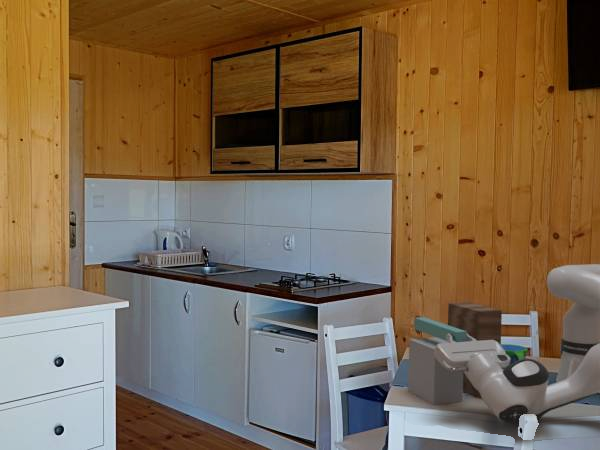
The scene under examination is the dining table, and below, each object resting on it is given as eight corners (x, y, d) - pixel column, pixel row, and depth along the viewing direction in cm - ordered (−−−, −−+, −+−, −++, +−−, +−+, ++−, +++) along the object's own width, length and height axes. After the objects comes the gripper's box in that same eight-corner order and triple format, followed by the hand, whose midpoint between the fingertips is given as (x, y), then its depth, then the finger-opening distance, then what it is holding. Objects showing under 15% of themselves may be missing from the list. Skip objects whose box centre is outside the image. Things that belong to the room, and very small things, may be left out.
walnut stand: (499, 395, 192) (501, 310, 191) (477, 398, 189) (479, 311, 188) (466, 381, 206) (469, 302, 206) (446, 383, 204) (448, 303, 203)
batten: (466, 343, 178) (466, 331, 178) (456, 344, 177) (456, 332, 177) (423, 328, 199) (423, 317, 199) (414, 328, 197) (414, 317, 197)
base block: (462, 400, 186) (464, 347, 185) (433, 404, 182) (435, 349, 181) (435, 387, 199) (437, 337, 198) (408, 390, 195) (409, 339, 194)
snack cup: (486, 371, 220) (487, 342, 219) (516, 371, 220) (516, 342, 220) (503, 383, 204) (504, 352, 204) (535, 384, 205) (536, 352, 204)
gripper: (444, 380, 167) (421, 344, 178) (507, 374, 175) (480, 340, 185) (452, 363, 164) (427, 327, 175) (515, 358, 171) (488, 324, 182)
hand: (455, 334), depth 180 cm, fingers closed on batten, 3 cm apart
